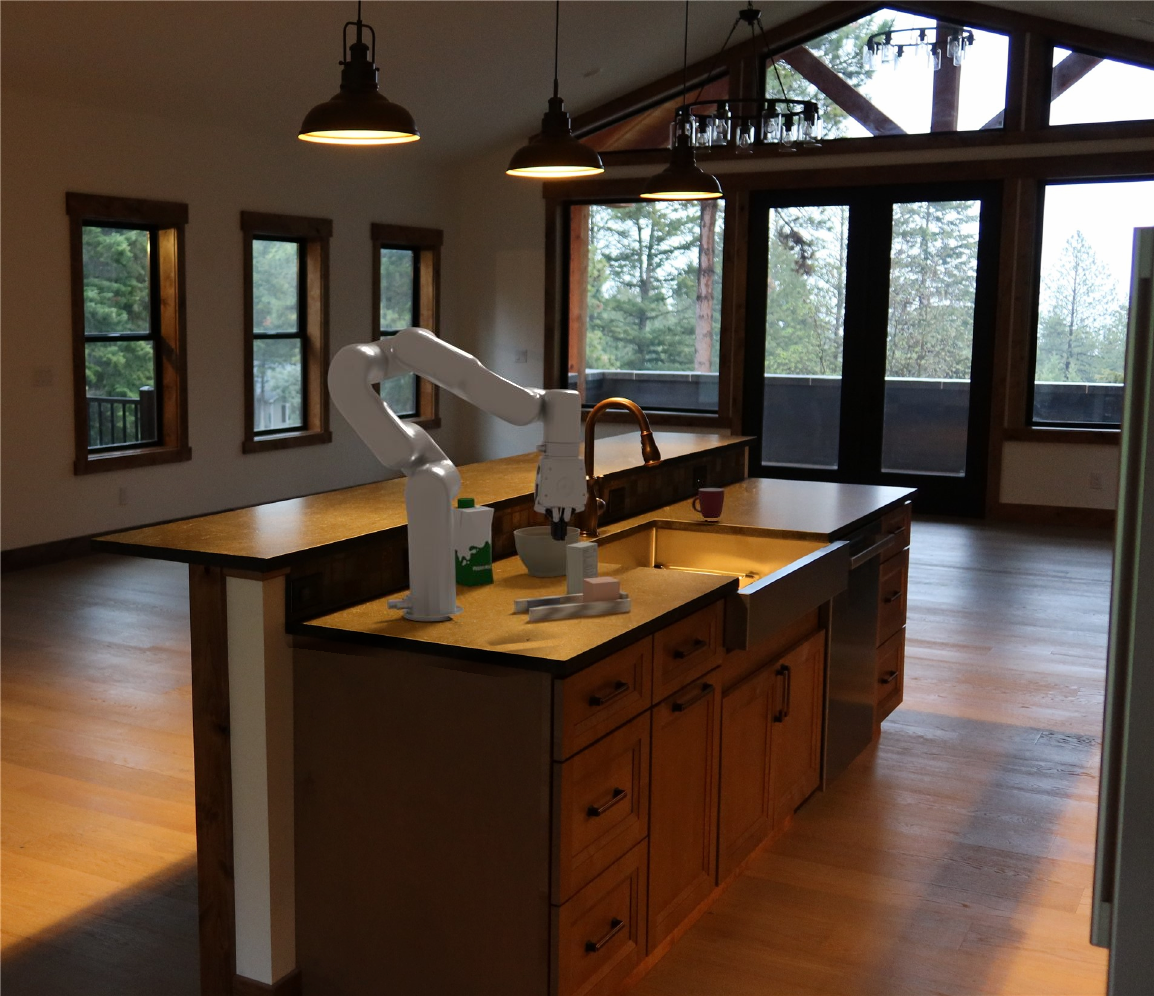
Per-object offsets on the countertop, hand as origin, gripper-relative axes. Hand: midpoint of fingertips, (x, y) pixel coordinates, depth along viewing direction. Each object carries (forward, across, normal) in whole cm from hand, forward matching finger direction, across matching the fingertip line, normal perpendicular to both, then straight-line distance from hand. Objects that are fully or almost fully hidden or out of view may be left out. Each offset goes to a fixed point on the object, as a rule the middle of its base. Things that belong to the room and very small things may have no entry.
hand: (558, 539), depth 248 cm
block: (+15, +10, -1) cm, 18 cm away
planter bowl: (+17, +15, +44) cm, 50 cm away
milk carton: (+17, -5, +41) cm, 45 cm away
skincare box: (+16, +12, +15) cm, 26 cm away
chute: (+16, +3, -1) cm, 16 cm away
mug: (+15, +93, +105) cm, 141 cm away
